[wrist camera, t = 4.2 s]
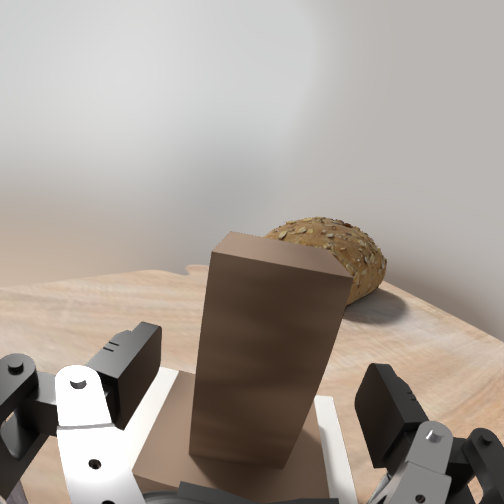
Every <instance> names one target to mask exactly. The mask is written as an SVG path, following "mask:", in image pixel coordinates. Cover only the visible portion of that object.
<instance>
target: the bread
mask: <svg viewBox="0 0 504 504" xmlns="http://www.w3.org/2000/svg"><path fill="white" fill-rule="evenodd" d="M263 237H264V238H269V239H275V240H280V241H285V242H290V243H295V244H301V245H306V246H311V247H316V248H321V249H326V250H328V251H329V252H330V253H331V254H332V255H333V256H334V257H335V258H336V259H337V260H338V261H339V262H340V263H341V265H342V266H343V267H344V268H345V269H346V270H347V271H348V272H349V273H350V274H351V275H352V276H353V278H354V279H353V283H352V286H351V290H350V294H349V297H348V301H347V304H346V305H348V304H351V303H353V302H355V301H356V300H358V299H359V298H361V297H363V296H366V295H367V294H369V293H370V292H372V291H373V290H374V289H376V288H378V286H379V285H380V284H381V282H382V280H383V278H384V276H385V271H386V265H387V259H386V258H385V257H384V256H383V255H382V253H381V251H380V248H377V245H375V243H374V241H373V239H371V238H370V237H368V234H366V233H363V232H362V231H360V229H359V228H358V227H356V226H355V227H353V226H351V225H350V224H348V223H344V222H343V221H341V220H333V219H330V218H325V217H315V218H305V219H302V220H296V221H291V222H286V225H283V226H279V228H276V229H274V230H272V231H270V233H269V234H267V235H266V236H263Z"/></svg>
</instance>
